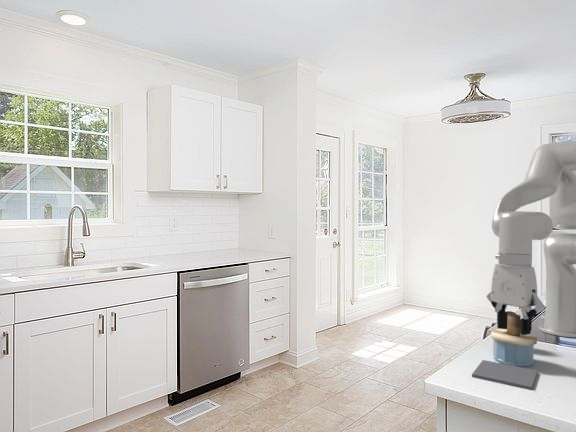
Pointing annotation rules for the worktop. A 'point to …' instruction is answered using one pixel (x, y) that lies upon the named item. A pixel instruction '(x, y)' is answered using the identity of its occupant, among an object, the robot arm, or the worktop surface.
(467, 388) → the worktop surface
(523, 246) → the robot arm
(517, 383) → the mat
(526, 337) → the lid
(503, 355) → the bowl
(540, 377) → the worktop surface
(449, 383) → the worktop surface
